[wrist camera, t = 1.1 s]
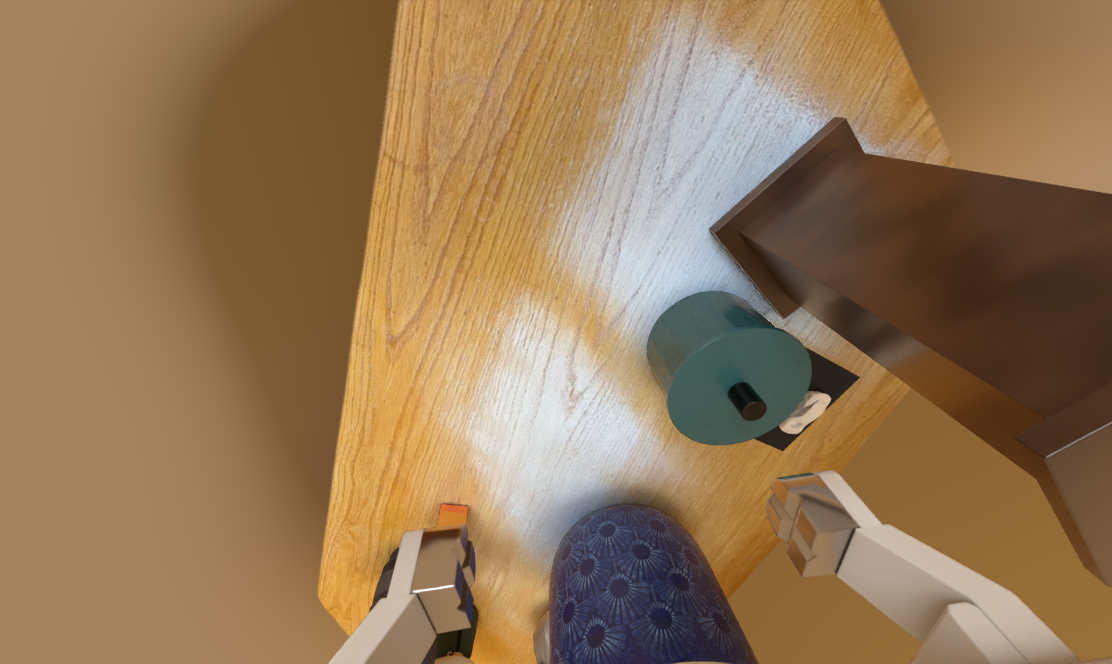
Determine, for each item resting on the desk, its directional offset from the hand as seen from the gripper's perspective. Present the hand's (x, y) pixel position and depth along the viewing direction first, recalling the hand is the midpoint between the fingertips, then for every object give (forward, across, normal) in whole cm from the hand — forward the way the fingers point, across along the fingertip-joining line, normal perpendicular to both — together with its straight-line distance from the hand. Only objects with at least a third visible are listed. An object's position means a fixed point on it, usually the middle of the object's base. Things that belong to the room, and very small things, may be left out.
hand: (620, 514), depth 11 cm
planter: (+27, -5, +41) cm, 50 cm away
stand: (+27, -22, +3) cm, 35 cm away
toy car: (+27, -24, +22) cm, 42 cm away
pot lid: (+20, -14, +13) cm, 27 cm away
